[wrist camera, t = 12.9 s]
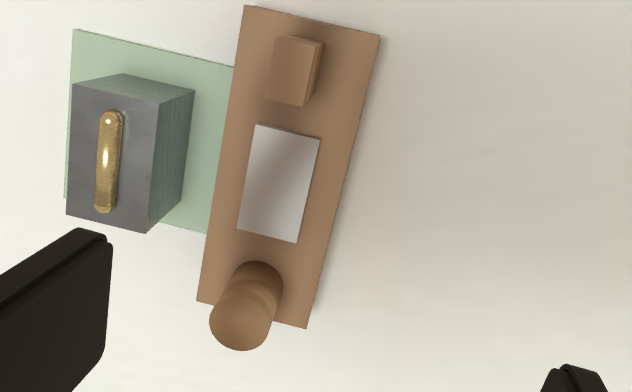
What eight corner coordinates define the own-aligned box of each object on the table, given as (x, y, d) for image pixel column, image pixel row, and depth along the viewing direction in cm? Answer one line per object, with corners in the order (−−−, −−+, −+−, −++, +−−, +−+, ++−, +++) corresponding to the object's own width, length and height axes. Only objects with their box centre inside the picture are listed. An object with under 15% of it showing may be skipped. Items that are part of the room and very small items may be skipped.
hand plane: (380, 35, 32) (380, 40, 25) (311, 306, 39) (295, 375, 31) (255, 6, 32) (218, 1, 25) (209, 280, 39) (168, 342, 32)
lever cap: (195, 90, 34) (152, 106, 27) (180, 201, 37) (138, 239, 30) (122, 73, 34) (62, 85, 28) (113, 184, 37) (57, 219, 30)
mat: (252, 71, 34) (250, 72, 33) (223, 235, 38) (221, 238, 37) (77, 29, 34) (72, 29, 34) (67, 195, 38) (63, 197, 38)
